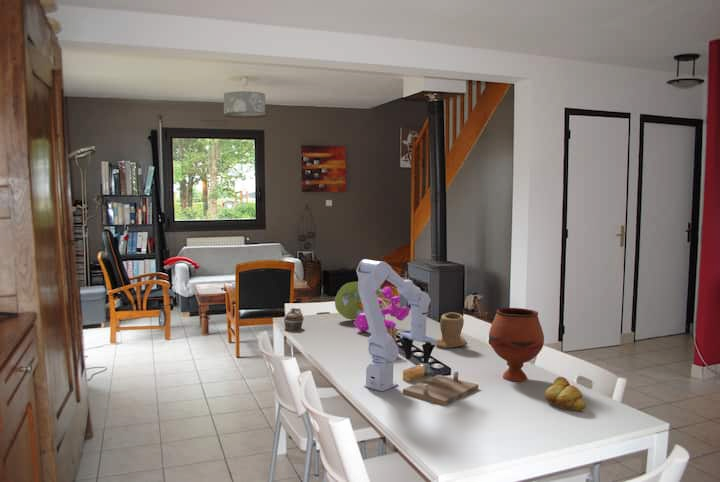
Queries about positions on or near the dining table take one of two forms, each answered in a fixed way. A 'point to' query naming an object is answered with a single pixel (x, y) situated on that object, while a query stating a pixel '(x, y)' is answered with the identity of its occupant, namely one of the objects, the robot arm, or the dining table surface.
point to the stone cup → (451, 331)
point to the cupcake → (293, 320)
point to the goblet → (516, 339)
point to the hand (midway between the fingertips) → (417, 360)
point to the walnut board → (441, 389)
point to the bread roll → (565, 395)
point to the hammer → (416, 372)
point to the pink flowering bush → (353, 309)
